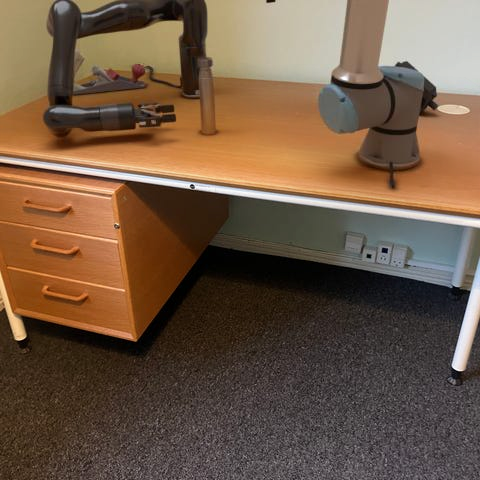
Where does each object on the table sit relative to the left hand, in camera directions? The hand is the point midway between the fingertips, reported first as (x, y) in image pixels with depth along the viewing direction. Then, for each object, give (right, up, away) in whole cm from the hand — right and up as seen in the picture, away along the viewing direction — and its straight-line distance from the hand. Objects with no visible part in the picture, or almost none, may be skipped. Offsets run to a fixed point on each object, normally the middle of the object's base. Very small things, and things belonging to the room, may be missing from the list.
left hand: (174, 112), depth 153 cm
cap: (+9, +13, -6) cm, 17 cm away
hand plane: (-31, +19, +45) cm, 58 cm away
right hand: (+23, +31, -4) cm, 39 cm away
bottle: (+10, -5, +5) cm, 12 cm away
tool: (+72, +5, +18) cm, 75 cm away
